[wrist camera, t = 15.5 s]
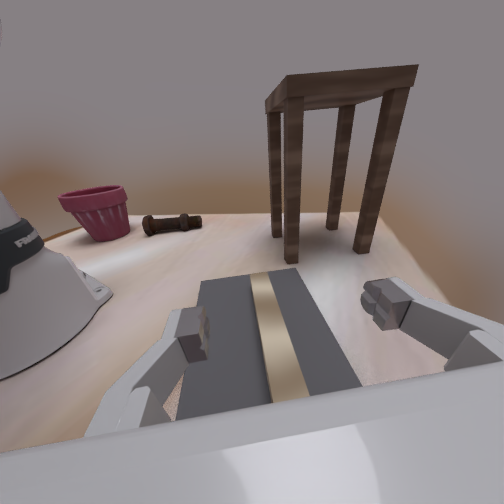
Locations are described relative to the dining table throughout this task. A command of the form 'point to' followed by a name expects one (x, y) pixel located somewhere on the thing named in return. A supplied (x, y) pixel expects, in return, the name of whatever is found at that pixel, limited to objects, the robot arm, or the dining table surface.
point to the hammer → (276, 344)
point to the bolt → (170, 223)
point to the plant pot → (99, 211)
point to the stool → (333, 96)
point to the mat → (258, 347)
